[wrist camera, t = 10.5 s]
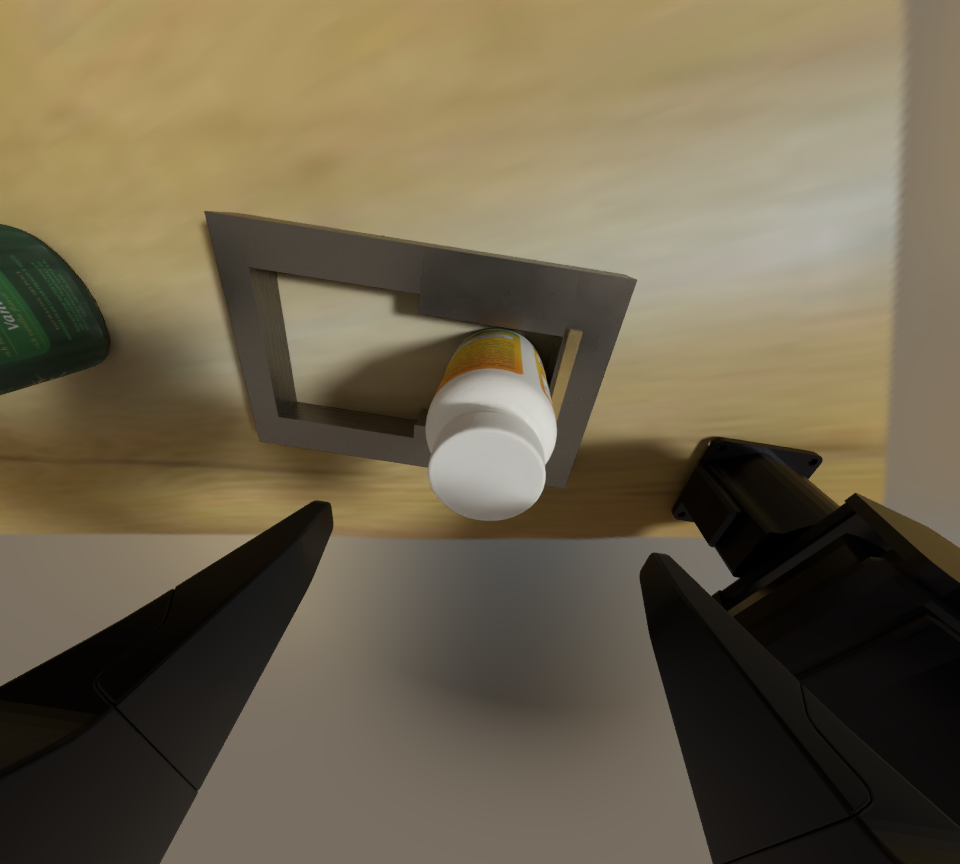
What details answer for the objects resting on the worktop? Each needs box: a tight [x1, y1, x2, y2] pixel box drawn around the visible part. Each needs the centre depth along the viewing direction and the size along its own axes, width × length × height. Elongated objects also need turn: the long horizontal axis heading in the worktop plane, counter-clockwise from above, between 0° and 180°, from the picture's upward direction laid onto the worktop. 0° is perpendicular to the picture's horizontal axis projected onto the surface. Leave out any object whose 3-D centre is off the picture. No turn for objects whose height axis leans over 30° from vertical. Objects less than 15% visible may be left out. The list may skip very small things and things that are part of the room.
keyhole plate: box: [204, 211, 637, 489], centre depth 19 cm, size 19×12×2 cm, turn 82°
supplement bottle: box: [425, 329, 557, 521], centre depth 16 cm, size 5×5×10 cm
